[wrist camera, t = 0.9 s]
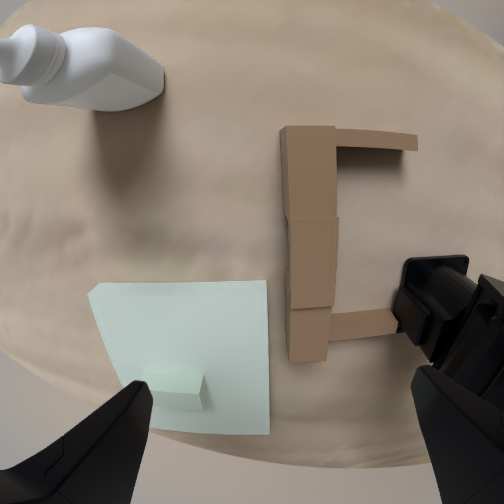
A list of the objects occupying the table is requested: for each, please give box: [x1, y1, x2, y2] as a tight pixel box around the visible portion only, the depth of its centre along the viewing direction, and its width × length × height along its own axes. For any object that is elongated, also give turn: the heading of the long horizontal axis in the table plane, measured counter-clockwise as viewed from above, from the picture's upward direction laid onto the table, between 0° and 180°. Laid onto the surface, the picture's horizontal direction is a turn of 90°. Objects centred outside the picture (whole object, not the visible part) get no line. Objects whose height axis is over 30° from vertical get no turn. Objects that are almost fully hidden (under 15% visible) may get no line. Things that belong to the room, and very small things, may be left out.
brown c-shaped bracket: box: [280, 126, 418, 364], centre depth 16 cm, size 8×14×4 cm, turn 3°
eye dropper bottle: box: [0, 24, 164, 111], centre depth 10 cm, size 4×6×12 cm
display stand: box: [88, 280, 270, 435], centre depth 21 cm, size 13×16×4 cm
